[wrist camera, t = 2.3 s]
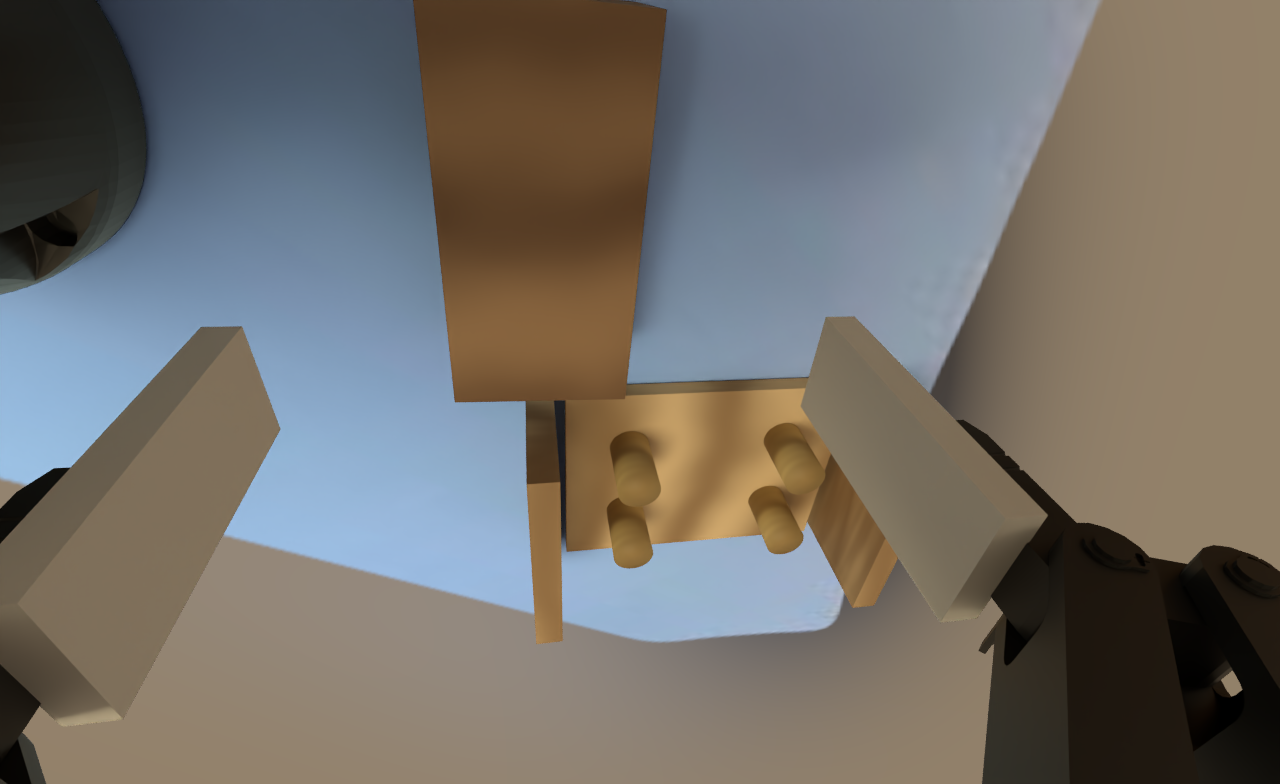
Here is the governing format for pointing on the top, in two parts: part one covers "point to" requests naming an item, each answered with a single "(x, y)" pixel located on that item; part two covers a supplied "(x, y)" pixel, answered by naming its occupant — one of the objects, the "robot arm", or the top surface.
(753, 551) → the top surface
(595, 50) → the brown wooden block
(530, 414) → the stand
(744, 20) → the top surface
